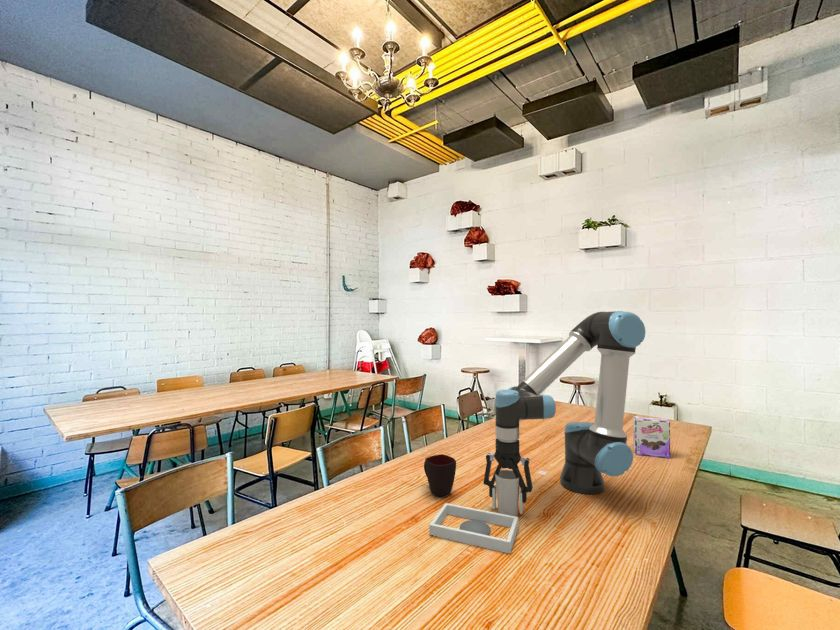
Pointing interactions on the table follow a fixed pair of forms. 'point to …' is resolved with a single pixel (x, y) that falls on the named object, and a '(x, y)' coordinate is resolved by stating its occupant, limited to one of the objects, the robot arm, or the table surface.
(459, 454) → the table surface
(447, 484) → the mug
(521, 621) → the table surface
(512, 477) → the cup
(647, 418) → the candy box
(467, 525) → the pad
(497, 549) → the open rectangular frame
